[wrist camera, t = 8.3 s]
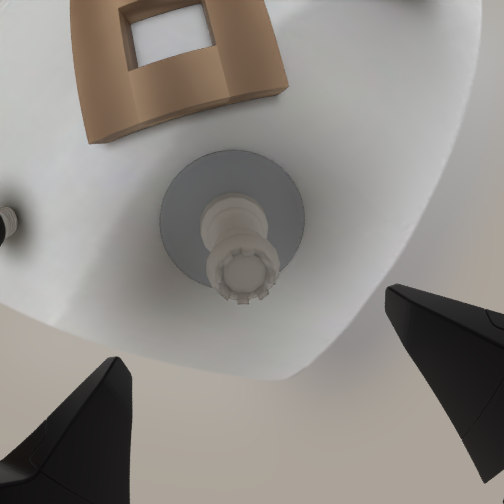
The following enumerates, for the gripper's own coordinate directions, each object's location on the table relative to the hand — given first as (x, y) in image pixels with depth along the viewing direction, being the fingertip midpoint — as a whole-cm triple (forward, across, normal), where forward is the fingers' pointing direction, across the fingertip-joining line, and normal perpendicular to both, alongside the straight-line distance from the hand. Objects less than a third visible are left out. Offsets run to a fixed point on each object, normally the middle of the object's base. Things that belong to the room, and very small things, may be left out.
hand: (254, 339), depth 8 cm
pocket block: (+12, +1, -14) cm, 19 cm away
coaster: (+12, 0, 0) cm, 12 cm away
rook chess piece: (+12, 0, 0) cm, 12 cm away
